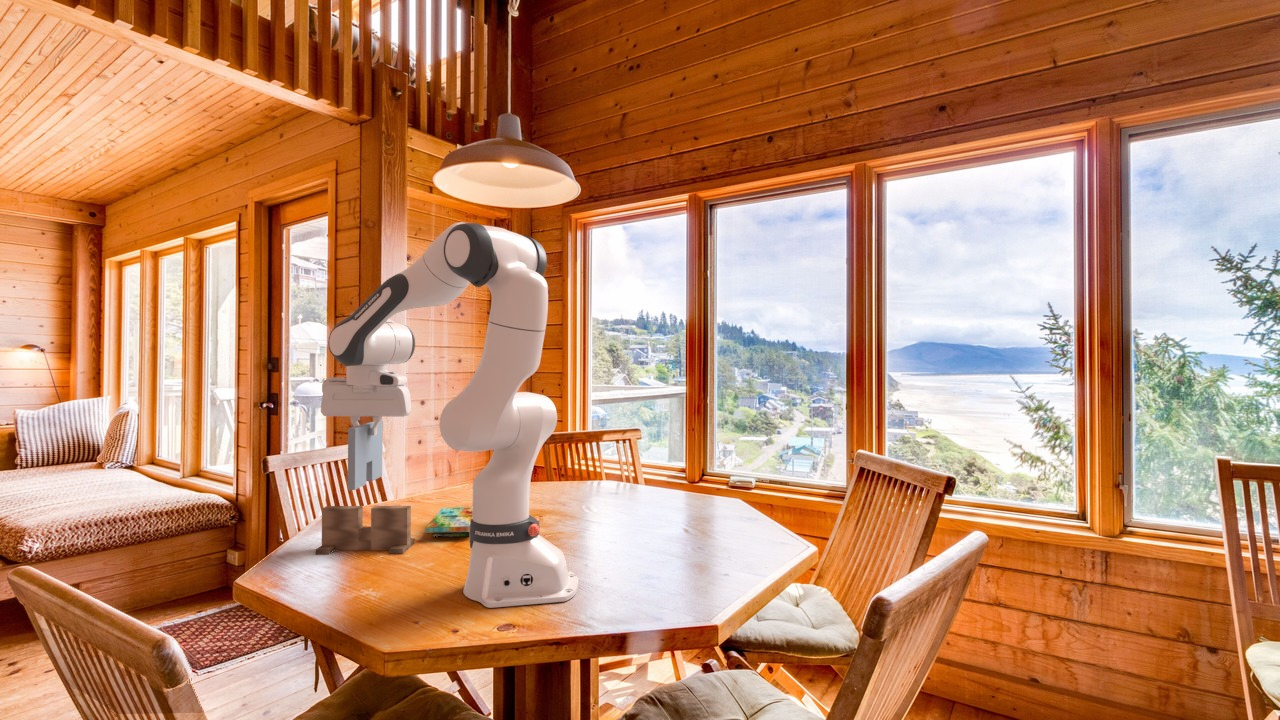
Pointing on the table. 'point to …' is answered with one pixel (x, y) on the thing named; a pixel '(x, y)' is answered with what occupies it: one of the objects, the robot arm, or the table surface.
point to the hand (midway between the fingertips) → (366, 435)
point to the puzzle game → (451, 522)
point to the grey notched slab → (364, 455)
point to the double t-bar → (366, 529)
